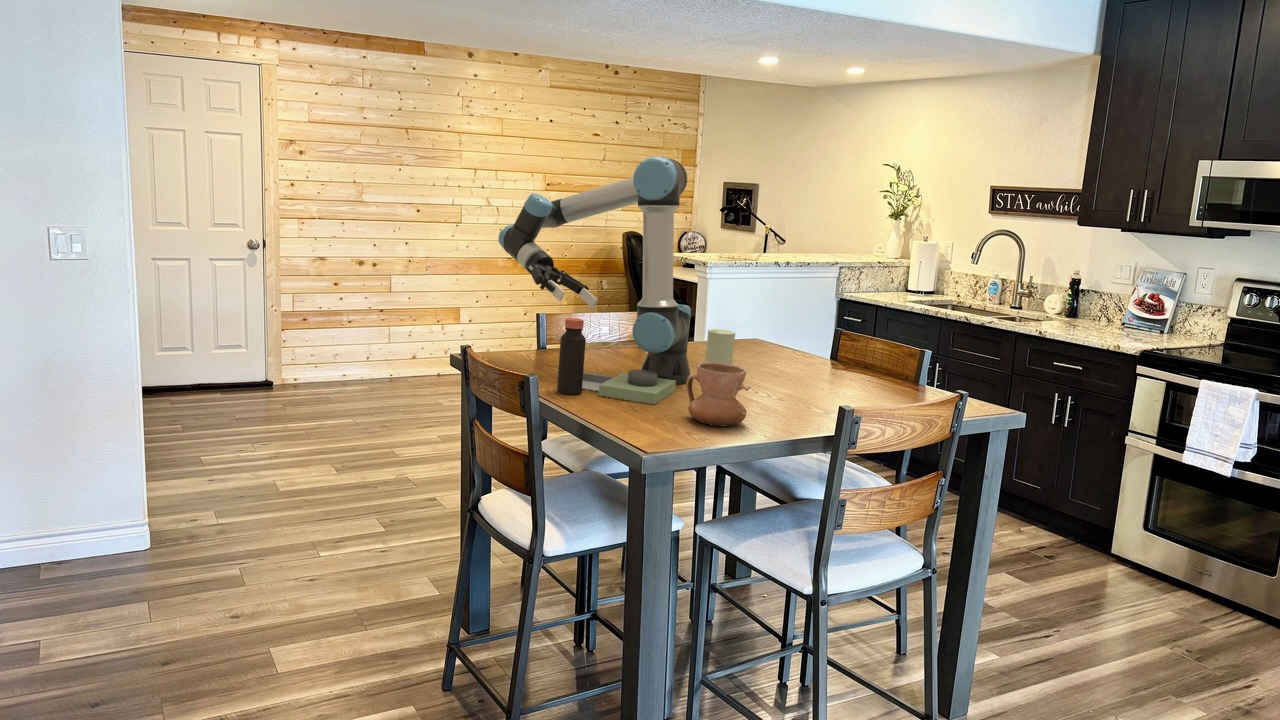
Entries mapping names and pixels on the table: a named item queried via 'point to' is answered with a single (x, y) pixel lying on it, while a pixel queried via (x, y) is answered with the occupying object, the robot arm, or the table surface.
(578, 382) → the vinegar
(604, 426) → the table surface
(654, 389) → the green slab with knob
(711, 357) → the can
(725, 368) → the ceramic jug
